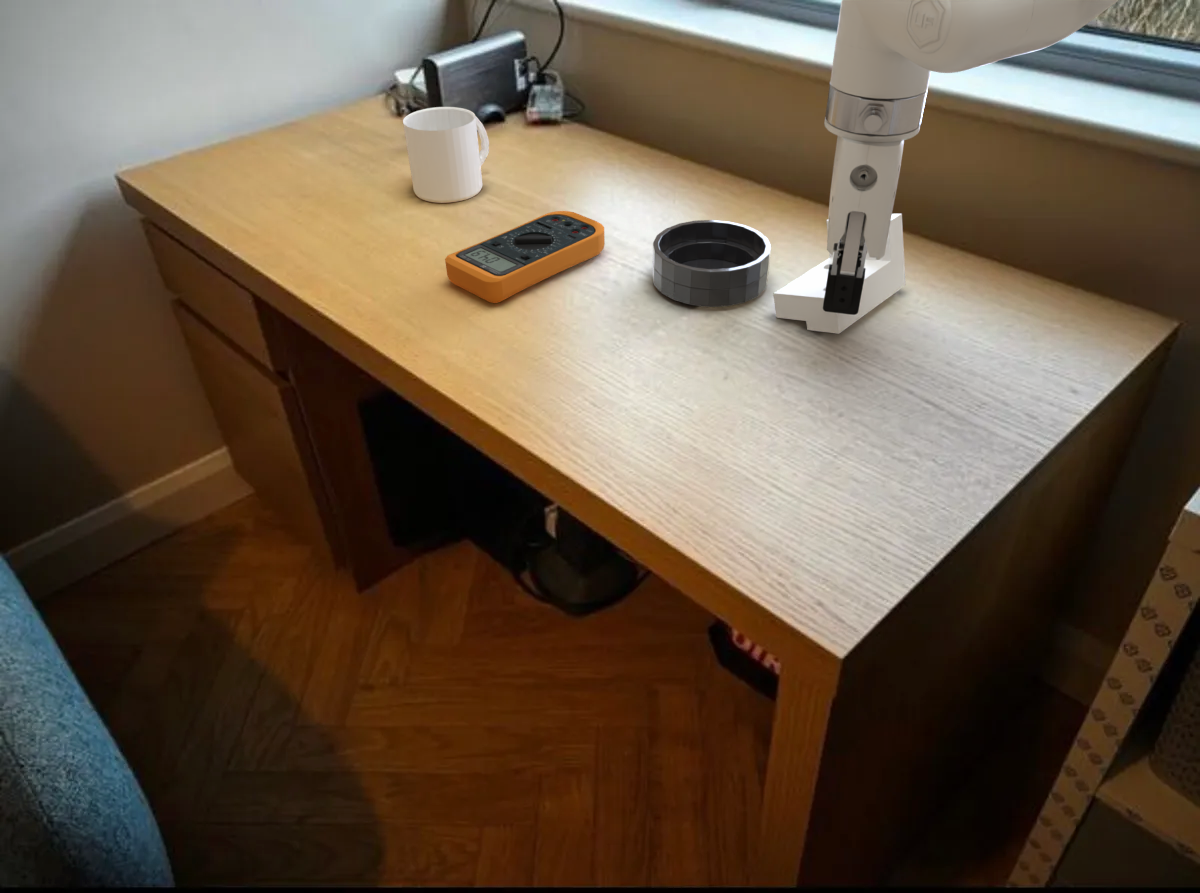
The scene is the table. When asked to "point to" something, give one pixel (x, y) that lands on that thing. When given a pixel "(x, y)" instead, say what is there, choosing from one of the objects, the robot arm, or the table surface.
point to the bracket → (879, 284)
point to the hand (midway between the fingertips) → (840, 308)
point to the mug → (445, 153)
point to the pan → (711, 263)
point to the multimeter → (525, 255)
